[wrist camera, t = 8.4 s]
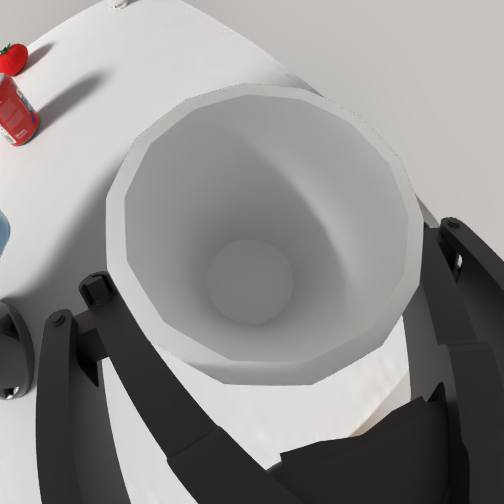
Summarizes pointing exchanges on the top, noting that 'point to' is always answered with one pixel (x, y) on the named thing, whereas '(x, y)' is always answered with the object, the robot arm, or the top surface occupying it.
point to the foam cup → (264, 235)
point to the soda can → (15, 113)
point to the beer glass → (116, 4)
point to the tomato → (13, 59)
